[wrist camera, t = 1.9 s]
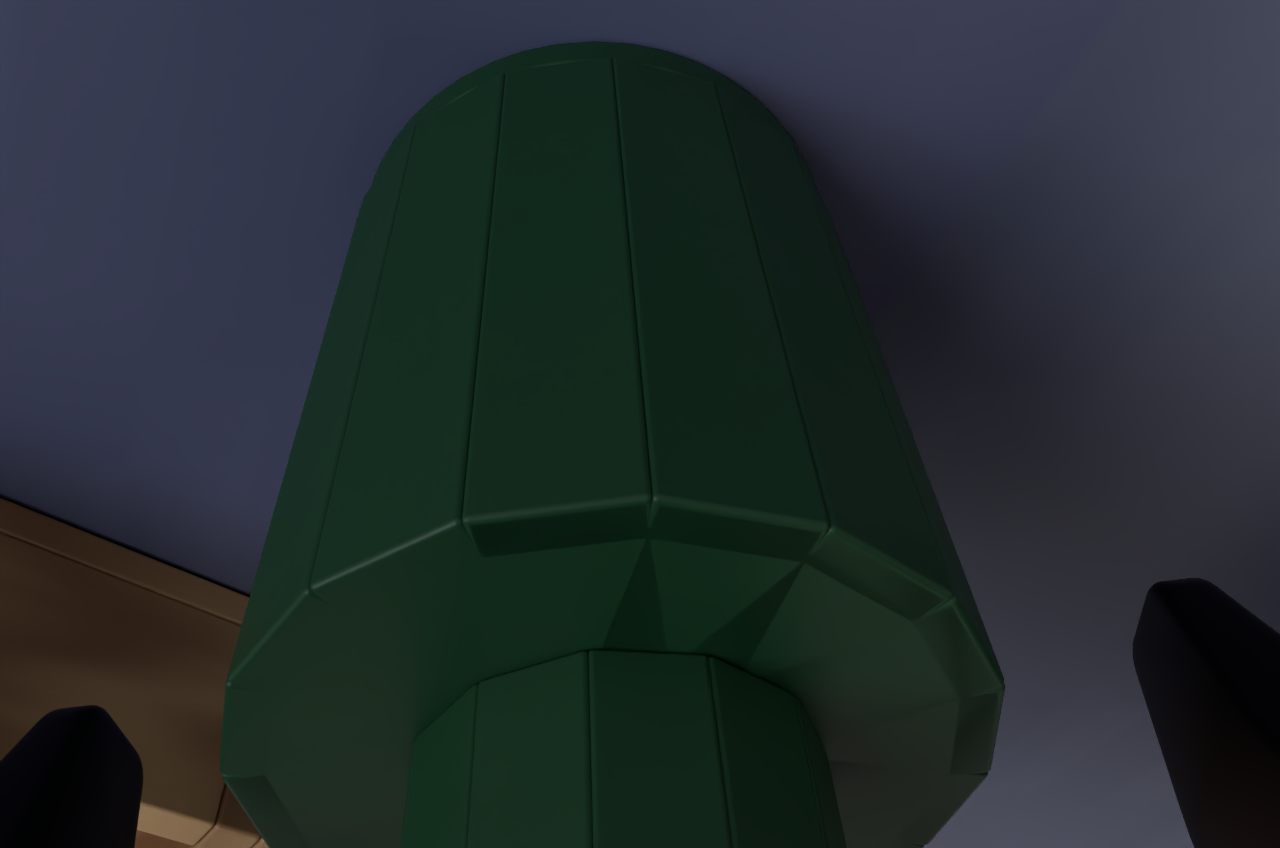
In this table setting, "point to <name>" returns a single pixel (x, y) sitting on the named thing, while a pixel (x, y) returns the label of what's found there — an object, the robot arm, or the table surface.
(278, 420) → the table surface
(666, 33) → the table surface
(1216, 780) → the robot arm
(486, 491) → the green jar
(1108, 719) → the table surface
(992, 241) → the table surface
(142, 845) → the wooden divided tray
